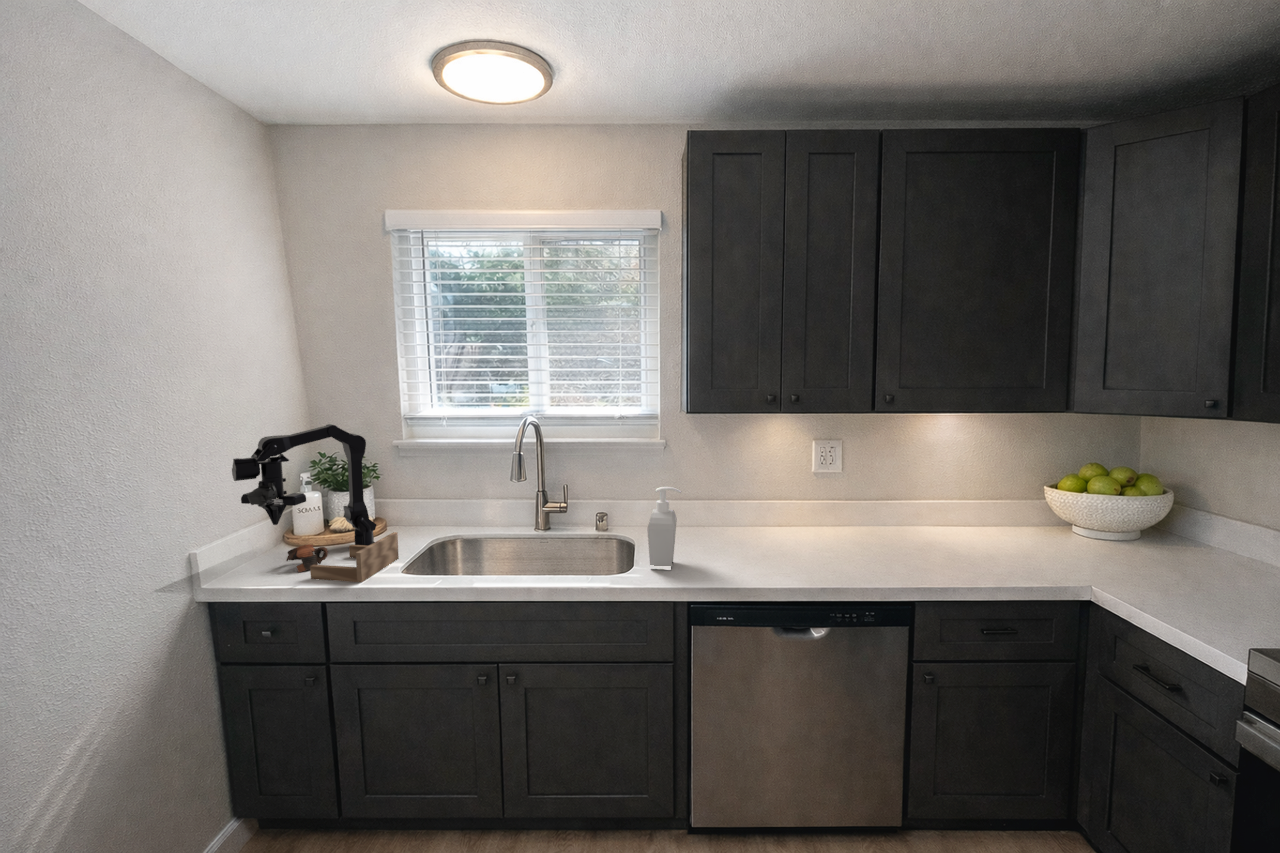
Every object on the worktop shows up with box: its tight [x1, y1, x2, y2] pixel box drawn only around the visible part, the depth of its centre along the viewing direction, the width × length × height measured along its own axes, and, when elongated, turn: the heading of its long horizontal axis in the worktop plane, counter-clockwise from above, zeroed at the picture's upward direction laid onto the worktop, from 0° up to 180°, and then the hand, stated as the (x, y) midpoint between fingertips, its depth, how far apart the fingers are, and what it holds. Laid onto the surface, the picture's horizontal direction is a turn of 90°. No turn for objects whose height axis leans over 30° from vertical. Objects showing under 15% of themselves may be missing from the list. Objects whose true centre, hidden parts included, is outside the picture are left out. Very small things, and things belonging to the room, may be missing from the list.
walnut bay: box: [309, 531, 400, 583], centre depth 195 cm, size 21×16×9 cm
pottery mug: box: [285, 543, 329, 573], centre depth 197 cm, size 12×10×8 cm
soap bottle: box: [647, 486, 682, 567], centre depth 198 cm, size 12×10×26 cm
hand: (275, 524), depth 197 cm, fingers closed
